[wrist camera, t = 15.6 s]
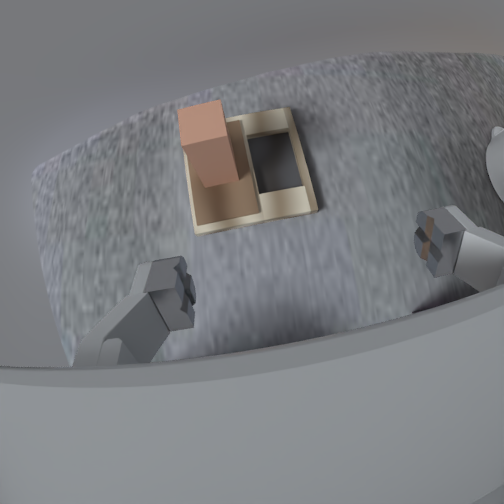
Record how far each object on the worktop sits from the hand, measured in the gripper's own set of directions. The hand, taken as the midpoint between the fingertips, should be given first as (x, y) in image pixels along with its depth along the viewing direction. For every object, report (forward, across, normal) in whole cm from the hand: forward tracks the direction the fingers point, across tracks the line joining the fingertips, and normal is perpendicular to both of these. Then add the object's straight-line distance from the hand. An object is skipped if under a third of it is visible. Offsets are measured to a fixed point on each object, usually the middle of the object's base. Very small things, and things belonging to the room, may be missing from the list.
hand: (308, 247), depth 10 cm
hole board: (+33, +2, +10) cm, 34 cm away
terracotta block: (+31, +5, +8) cm, 33 cm away
